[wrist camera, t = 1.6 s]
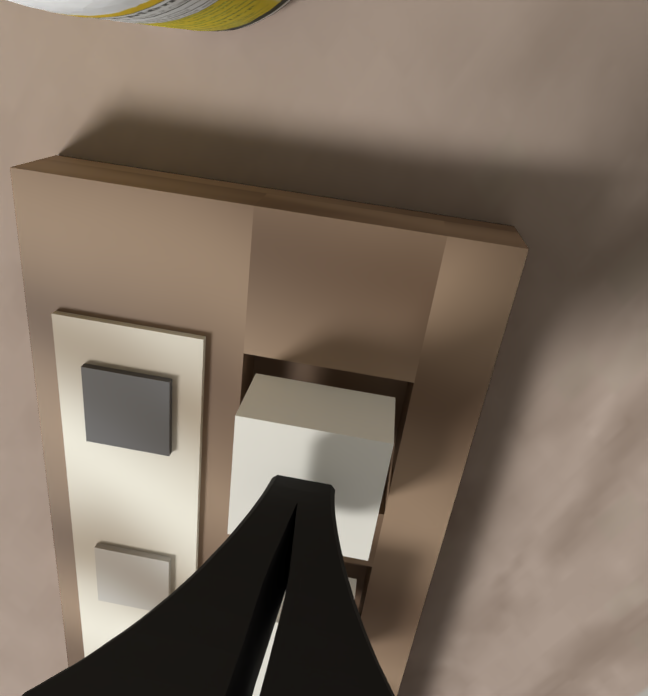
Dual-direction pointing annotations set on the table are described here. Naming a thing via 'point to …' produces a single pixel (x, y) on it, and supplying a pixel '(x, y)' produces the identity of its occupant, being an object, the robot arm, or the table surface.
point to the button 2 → (314, 450)
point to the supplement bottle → (167, 11)
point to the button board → (241, 369)
